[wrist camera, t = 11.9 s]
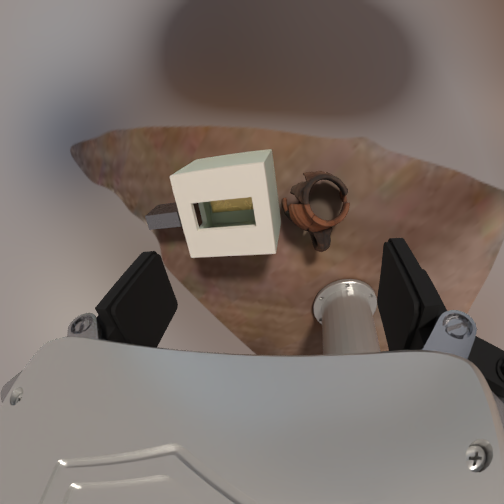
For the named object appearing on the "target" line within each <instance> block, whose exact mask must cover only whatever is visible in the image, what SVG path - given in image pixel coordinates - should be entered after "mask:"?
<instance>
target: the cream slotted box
mask: <svg viewBox="0 0 504 504" xmlns="http://www.w3.org/2000/svg"><path fill="white" fill-rule="evenodd" d="M170 180H171V184H172V188H173V192H174V196H175V200H176V204H177V208H178V212H179V216H180V219H181V223H182V227H183V230H184V234H185V238H186V241H187V245H188V248H189V252H190V255H191V258H196V257H218V256H239V255H259V254H276V249H277V243H278V237H279V231H280V225H281V219H280V210H279V202H278V194H277V186H276V178H275V170H274V163H273V155H272V149H270V150H260V151H252V152H244V153H236V154H229V155H222V156H215V157H209V158H203V159H197V160H195V161H193V162H192V163H190V164H188V165H187V166H185V167H184V168H182V169H180V170H179V171H177V172H176V173H174V174H173V175H171V176H170ZM247 197H252V202H253V209H250V210H238V211H227V212H216V213H213V212H212V207H211V203H210V201H217V200H226V199H236V198H247ZM193 203H198V205H199V209H200V213H201V217H202V222H203V223H202V224H201V225H200V227H199V225H198V221H197V217H196V213H195V209H194V205H193Z"/></svg>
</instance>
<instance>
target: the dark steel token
mask: <svg viewBox="0 0 504 504" xmlns="http://www.w3.org/2000/svg"><path fill="white" fill-rule="evenodd" d="M145 217H146V220H147V224H148V227H149V230H152V229H162V228H172V227H181V226H182V223H181V219H180V216H179V212H178V208H177V204H176V202H175V203H168V204H161V205H158V206H156V207H155V208H154V209H153V210H152V211H151V212H149V213H148V214H147V215H146V216H145Z"/></svg>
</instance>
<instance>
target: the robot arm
mask: <svg viewBox="0 0 504 504" xmlns="http://www.w3.org/2000/svg"><path fill="white" fill-rule="evenodd" d="M377 303H378V308H379V312H380V315H381V319H382V323H383V327H384V331H385V335H386V339H387V343H388V347H389V351H382V352H380V347H379V342H378V337H377V333H376V328H375V324H374V320H373V314H374V312H375V310H376V307H377ZM177 305H178V304H177V300H176V298H175V295H174V292H173V290H172V287H171V284H170V281H169V279H168V276H167V273H166V270H165V267H164V265H163V262H162V259H161V256H160V255H159V254H157V253H156V252H155V251H150V252H143V253H141V255H140V256H139V257H138V258H137V259H136V260H135V261H134V262H133V264H132V265H131V266H130V267H129V268H128V269H127V271H126V272H125V273H124V274H123V275H122V276H121V277H120V279H119V280H118V281H117V282H116V283H115V284H114V286H113V287H112V288H111V289H110V291H109V292H108V293H107V294H106V295H105V296H104V298H103V299H102V300H101V301H100V303H99V304H98V305H97V307H96V308H95V309H96V311H97V313H98V317H97V318H96V316H95V315H94V314H92V313H86V314H82V315H80V316H78V317H77V318H75V319H74V320H73V321H72V322H71V324H70V325H69V327H68V336H67V337H63V338H59V339H55V340H52V341H50V342H47V343H46V344H44V345H43V346H42V347H41V348H40V349H39V350H38V351H37V353H36V354H35V355H34V356H33V357H32V359H31V360H30V361H29V363H28V364H27V365H26V367H25V368H24V369H23V370H22V371H21V372H20V373H18V374H17V375H16V376H15V377H13V378H12V379H11V380H10V381H9V382H7V383H6V384H5V385H4V387H3V388H2V391H1V400H2V405H1V407H0V504H504V351H503V350H501V349H499V348H498V347H496V346H494V345H492V344H490V343H488V342H486V341H484V340H482V339H480V338H478V337H477V336H476V331H477V328H476V324H475V322H474V321H473V319H472V318H471V317H470V316H469V315H467V314H466V313H464V312H461V311H458V310H450V311H447V310H446V308H445V306H444V304H443V302H442V300H441V298H440V296H439V294H438V292H437V290H436V288H435V287H434V285H433V283H432V281H431V279H430V278H429V276H428V274H427V272H426V271H425V270H423V269H422V268H421V267H420V265H419V263H418V262H417V260H416V258H415V256H414V255H413V253H412V251H411V250H410V248H409V247H408V245H407V243H406V242H405V240H404V239H403V238H390V239H389V240H388V242H385V243H384V247H383V257H382V267H381V275H380V283H379V290H378V297H377V299H376V295H375V292H374V291H373V289H372V288H371V287H370V286H369V285H368V284H366V283H364V282H362V281H359V280H355V279H344V280H338V281H335V282H333V283H331V284H329V285H327V286H326V287H324V288H323V289H322V290H321V291H320V292H319V293H318V294H317V296H316V298H315V301H314V306H313V308H314V315H315V317H316V319H317V321H318V322H319V323H320V324H322V335H323V355H245V354H226V353H210V352H197V351H185V350H175V349H165V348H157V346H158V344H159V342H160V340H161V338H162V336H163V335H164V333H165V331H166V329H167V327H168V325H169V323H170V321H171V319H172V317H173V315H174V314H175V312H176V310H177Z"/></svg>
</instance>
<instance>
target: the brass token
mask: <svg viewBox="0 0 504 504" xmlns="http://www.w3.org/2000/svg"><path fill="white" fill-rule="evenodd" d="M210 203H211V207H212V212H213V213H216V212H227V211H238V210H250V209H253V202H252V197H247V198H236V199H226V200H217V201H210Z"/></svg>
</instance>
